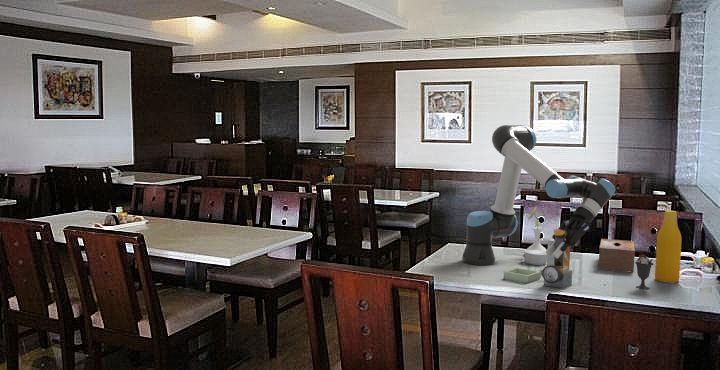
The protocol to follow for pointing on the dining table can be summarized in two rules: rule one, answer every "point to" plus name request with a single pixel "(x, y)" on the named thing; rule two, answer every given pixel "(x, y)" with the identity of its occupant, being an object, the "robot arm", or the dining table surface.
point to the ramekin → (535, 257)
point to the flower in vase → (536, 234)
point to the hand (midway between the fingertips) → (551, 255)
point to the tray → (522, 275)
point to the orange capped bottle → (559, 239)
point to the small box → (566, 256)
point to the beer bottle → (668, 249)
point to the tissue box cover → (616, 255)
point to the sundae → (643, 269)
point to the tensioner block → (557, 276)
